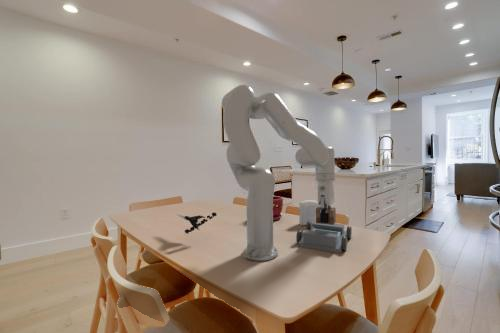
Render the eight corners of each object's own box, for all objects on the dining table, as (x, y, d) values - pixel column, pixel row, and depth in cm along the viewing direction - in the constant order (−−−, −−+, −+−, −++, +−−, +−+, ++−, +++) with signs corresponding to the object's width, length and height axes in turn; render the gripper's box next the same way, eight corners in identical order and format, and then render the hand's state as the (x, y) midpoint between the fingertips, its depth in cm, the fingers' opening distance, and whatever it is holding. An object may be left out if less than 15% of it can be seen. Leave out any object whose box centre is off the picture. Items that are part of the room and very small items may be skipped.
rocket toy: (186, 219, 96) (161, 210, 113) (187, 235, 96) (162, 223, 113) (217, 212, 105) (190, 205, 122) (217, 227, 106) (190, 217, 123)
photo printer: (317, 222, 128) (317, 199, 127) (320, 224, 124) (320, 200, 123) (298, 223, 127) (298, 199, 126) (301, 226, 122) (300, 201, 122)
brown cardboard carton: (333, 224, 98) (333, 210, 98) (316, 223, 101) (315, 208, 101) (335, 221, 102) (335, 207, 102) (318, 220, 105) (318, 206, 105)
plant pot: (286, 220, 132) (286, 198, 132) (262, 222, 130) (262, 200, 129) (279, 214, 145) (279, 194, 144) (257, 216, 143) (257, 195, 142)
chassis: (344, 254, 88) (344, 239, 88) (295, 245, 97) (295, 232, 96) (352, 235, 107) (352, 223, 107) (310, 229, 116) (310, 218, 116)
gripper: (330, 179, 91) (331, 227, 93) (338, 174, 106) (338, 216, 107) (310, 179, 95) (311, 225, 96) (320, 174, 110) (321, 214, 111)
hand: (325, 220), depth 102 cm, fingers closed on brown cardboard carton, 4 cm apart
